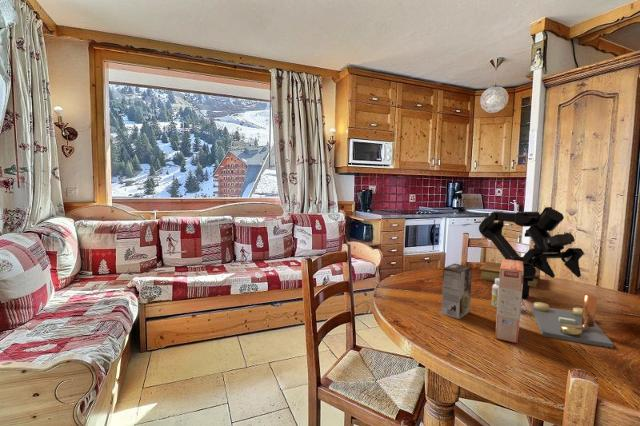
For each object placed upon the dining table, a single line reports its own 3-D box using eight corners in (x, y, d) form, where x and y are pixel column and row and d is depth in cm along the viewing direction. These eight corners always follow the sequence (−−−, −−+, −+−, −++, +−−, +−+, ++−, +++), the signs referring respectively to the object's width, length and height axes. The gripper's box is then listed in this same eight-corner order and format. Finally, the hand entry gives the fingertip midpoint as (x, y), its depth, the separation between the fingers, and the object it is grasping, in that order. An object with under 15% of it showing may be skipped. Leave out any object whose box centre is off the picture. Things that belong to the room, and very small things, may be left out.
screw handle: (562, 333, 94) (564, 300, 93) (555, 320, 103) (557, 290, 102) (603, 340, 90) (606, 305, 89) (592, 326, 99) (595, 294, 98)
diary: (539, 280, 155) (540, 268, 155) (537, 290, 140) (539, 277, 139) (485, 271, 168) (486, 260, 168) (478, 280, 153) (479, 268, 153)
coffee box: (452, 307, 118) (454, 263, 117) (470, 312, 114) (472, 266, 112) (440, 314, 112) (442, 267, 110) (459, 319, 107) (461, 271, 106)
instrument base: (542, 336, 96) (543, 326, 96) (531, 308, 117) (531, 300, 117) (613, 348, 89) (614, 338, 89) (587, 316, 111) (587, 308, 110)
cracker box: (519, 344, 91) (523, 270, 89) (494, 339, 94) (498, 267, 92) (519, 326, 102) (524, 260, 101) (498, 322, 106) (501, 258, 104)
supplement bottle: (509, 305, 120) (511, 279, 119) (505, 309, 116) (507, 282, 115) (493, 301, 124) (495, 276, 123) (489, 305, 120) (490, 279, 119)
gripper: (530, 224, 112) (555, 263, 101) (580, 224, 113) (610, 262, 103) (513, 244, 120) (535, 282, 109) (561, 244, 122) (586, 281, 111)
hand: (566, 276), depth 108 cm, fingers open, 9 cm apart
